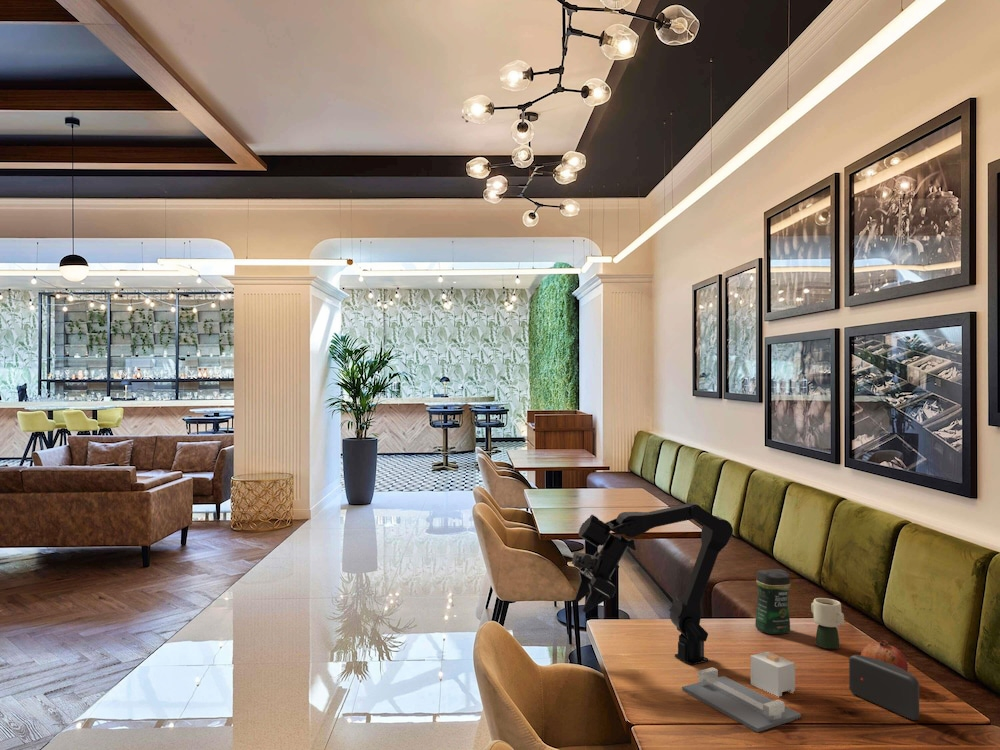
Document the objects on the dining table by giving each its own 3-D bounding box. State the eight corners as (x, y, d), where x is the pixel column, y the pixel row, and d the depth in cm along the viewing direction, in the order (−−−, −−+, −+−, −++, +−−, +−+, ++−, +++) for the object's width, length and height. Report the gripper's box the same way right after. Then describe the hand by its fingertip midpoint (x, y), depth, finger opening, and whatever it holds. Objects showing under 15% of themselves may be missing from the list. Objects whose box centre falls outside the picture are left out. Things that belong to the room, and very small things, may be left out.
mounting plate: (723, 679, 161) (723, 675, 161) (800, 717, 142) (800, 714, 142) (682, 690, 155) (682, 686, 155) (757, 732, 135) (757, 728, 135)
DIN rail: (712, 680, 159) (712, 666, 159) (785, 717, 140) (785, 702, 141) (697, 683, 157) (697, 670, 157) (769, 722, 138) (769, 707, 138)
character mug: (853, 652, 180) (852, 606, 181) (834, 656, 178) (834, 608, 178) (821, 639, 190) (820, 594, 191) (802, 641, 188) (802, 597, 188)
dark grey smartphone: (928, 719, 142) (928, 676, 143) (916, 724, 140) (915, 680, 141) (859, 689, 157) (859, 650, 157) (847, 693, 155) (847, 653, 155)
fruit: (917, 691, 156) (916, 650, 157) (875, 690, 157) (874, 648, 157) (892, 673, 167) (892, 634, 167) (853, 671, 167) (853, 632, 168)
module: (767, 679, 162) (767, 648, 162) (795, 692, 155) (795, 659, 155) (750, 684, 159) (750, 652, 159) (778, 697, 152) (778, 664, 152)
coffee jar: (768, 636, 192) (768, 573, 192) (751, 627, 199) (751, 567, 200) (795, 634, 194) (795, 572, 195) (777, 625, 202) (777, 565, 203)
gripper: (577, 532, 181) (548, 581, 180) (593, 547, 163) (561, 601, 161) (610, 553, 182) (582, 601, 181) (629, 570, 163) (598, 624, 162)
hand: (580, 606), depth 171 cm, fingers open, 9 cm apart
